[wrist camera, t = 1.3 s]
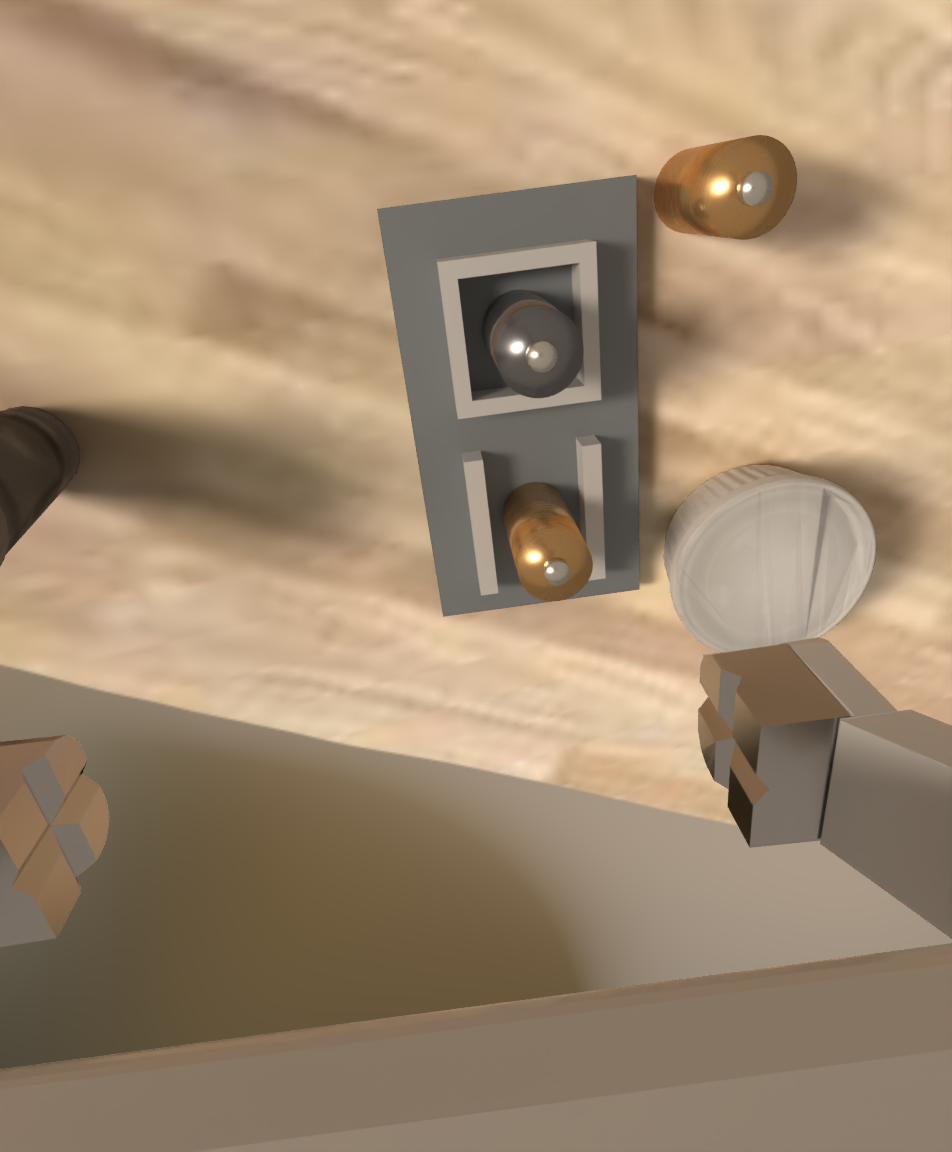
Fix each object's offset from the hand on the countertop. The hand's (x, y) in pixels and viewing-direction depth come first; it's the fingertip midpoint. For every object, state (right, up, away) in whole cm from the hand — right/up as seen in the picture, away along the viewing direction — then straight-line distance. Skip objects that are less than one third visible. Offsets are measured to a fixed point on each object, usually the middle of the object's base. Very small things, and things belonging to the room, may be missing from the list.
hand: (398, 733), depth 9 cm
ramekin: (+17, +5, +34) cm, 38 cm away
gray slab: (+4, +11, +29) cm, 31 cm away
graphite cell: (+3, +14, +26) cm, 30 cm away
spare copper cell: (+4, +6, +31) cm, 31 cm away
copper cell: (+11, +21, +25) cm, 34 cm away
